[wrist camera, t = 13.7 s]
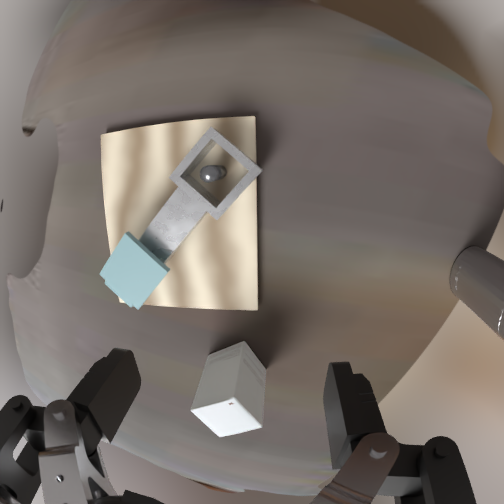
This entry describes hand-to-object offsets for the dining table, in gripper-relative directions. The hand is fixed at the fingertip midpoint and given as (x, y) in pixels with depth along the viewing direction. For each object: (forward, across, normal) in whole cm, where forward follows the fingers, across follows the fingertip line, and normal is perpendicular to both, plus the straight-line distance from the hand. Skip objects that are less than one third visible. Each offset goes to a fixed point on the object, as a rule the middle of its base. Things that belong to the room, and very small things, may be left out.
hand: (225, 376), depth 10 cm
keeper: (+28, +16, +4) cm, 32 cm away
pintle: (+28, +5, -7) cm, 29 cm away
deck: (+28, +12, -1) cm, 30 cm away
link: (+27, +9, -3) cm, 28 cm away
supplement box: (+28, +4, +23) cm, 37 cm away
